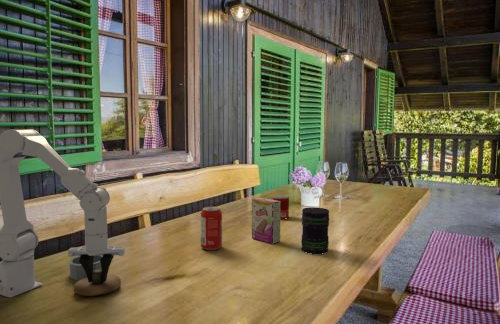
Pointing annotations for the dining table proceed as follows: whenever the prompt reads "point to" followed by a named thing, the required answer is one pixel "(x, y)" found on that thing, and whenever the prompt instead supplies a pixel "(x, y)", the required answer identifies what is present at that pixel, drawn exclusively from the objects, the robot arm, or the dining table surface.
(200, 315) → the dining table surface
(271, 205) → the candy bar box
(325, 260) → the dining table surface
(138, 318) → the dining table surface
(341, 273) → the dining table surface
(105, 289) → the lid
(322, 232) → the storage jar
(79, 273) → the bowl
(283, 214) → the canned food
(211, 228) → the soda can
